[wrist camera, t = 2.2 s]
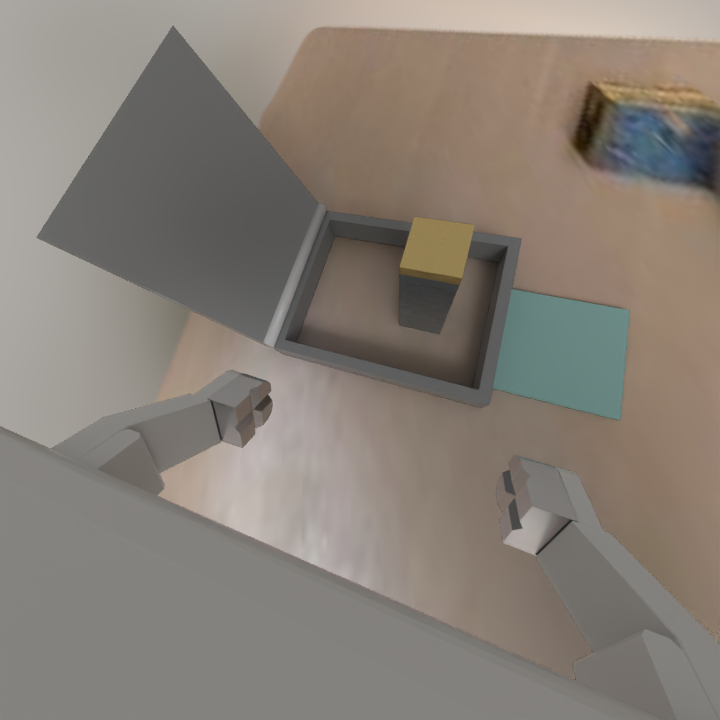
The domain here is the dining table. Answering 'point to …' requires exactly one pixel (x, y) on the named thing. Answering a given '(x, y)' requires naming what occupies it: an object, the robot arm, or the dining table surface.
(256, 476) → the dining table surface
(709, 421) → the dining table surface
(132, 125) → the case
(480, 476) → the dining table surface
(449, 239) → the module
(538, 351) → the pad
